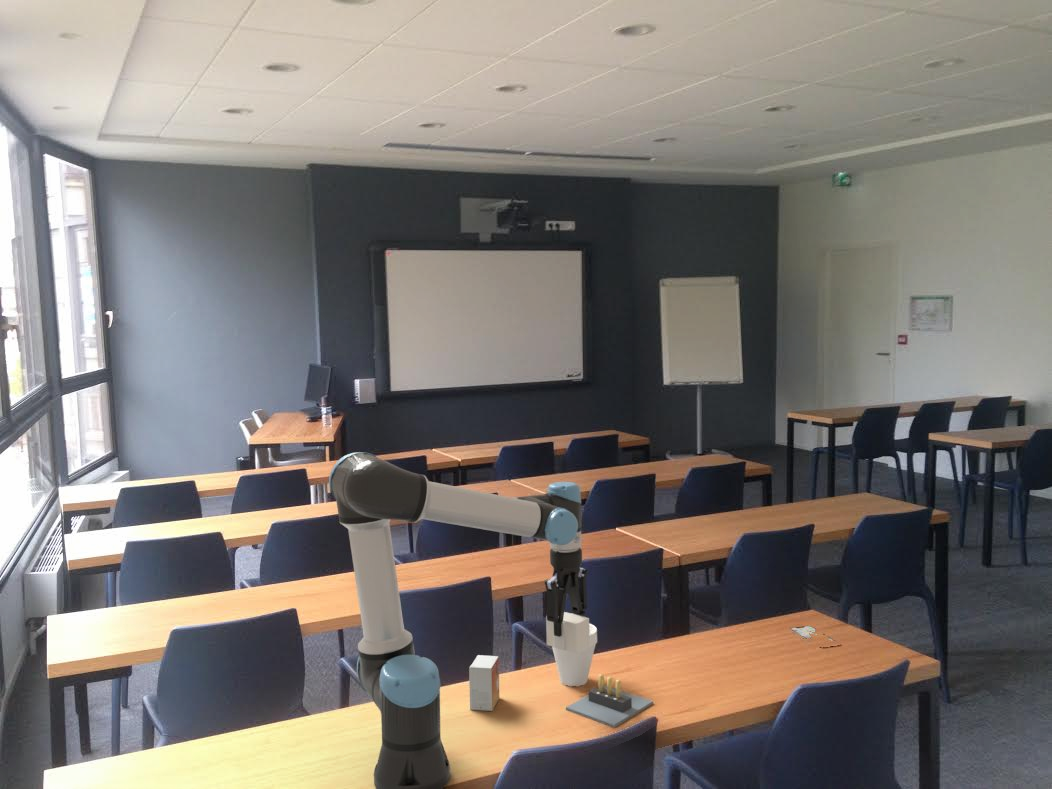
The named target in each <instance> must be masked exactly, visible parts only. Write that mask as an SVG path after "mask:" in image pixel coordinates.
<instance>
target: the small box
mask: <svg viewBox="0 0 1052 789" xmlns="http://www.w3.org/2000/svg"><path fill="white" fill-rule="evenodd" d="M468 670H469V672H468V674H469V675H468V676H469V680H468V682H469V709H470V710H471V711H485V712H486V711H488V712H493V711H494V709H495V706H496V704H497V703H498V701H499V700H500V656H497V655H486V654H485V655H483V654H481V655H480V654H478V655H476V657H475V659H474V660H473V662H472V664H470V666H469V667H468Z"/></svg>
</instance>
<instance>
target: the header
mask: <svg viewBox="0 0 1052 789" xmlns="http://www.w3.org/2000/svg"><path fill="white" fill-rule="evenodd" d="M604 676H605V675H604V674H603V673H601V674H600V673H599V674H598V686H595V687H593V688H592V689H590V690H588V694H587V695H586V696H584V697H582V698H581V699H580V698H579V699H578V700H576V701H575V702H573V703H571V704H569V705H567V706H566V707H565V710H566V711H569V712H571V713H574V714H576V715H580V716H582V717H585V718H588V719H591V720H593V721H595V722H598V723H601V724H604V725H606V726H610V727H612V728H616V727H617V726H619V725H620V724H622V723H624V722H625V721H627V720H629V719H631V718H632V717H634V716H635V715H637V714H639V713H640V712H642V711H644V710H645V709H646V708H649V707H650V706H652V705H653V704H654V700H651V699H649V698H645V697H642V696H639V695H636V694H633V693H629V692H626V691H624V690H622V681H621V679H616V680H615V687H613V677H612V676H607V678H606V685H605V681H604V680H605V679H604V678H605V677H604Z"/></svg>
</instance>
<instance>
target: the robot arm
mask: <svg viewBox="0 0 1052 789" xmlns="http://www.w3.org/2000/svg"><path fill="white" fill-rule="evenodd" d="M328 478H329V479H328V480H329V481H328V485H329V489H330V492H331V494H332V496H333V497H334V499H335V501H336V506H337V507H336V508H337V513H338V520H339V524H340V525H342V526H344V528H346V529H347V530H348V537H349V538H348V539H349V544H350V551H351V557H352V565H353V572H354V578H355V579H354V580H355V585H356V586H355V587H356V593H357V599H358V607H359V614H360V619H361V627H362V632H363V633H362V635H363V637H362V638H361V640H360V641H359V642H358V644H357V650H358V658H357V661H356V674H357V678H358V681H359V684H360V686H361V687H362V689H363V691H364V692H365V693H366V694H367V695H368V696H369V698H370V699H371V700H372V702H373V703H374V704H375V706H376V707H377V708H378V710H379V711H380V716H381V746H380V751H379V755H378V759H377V763H376V764H375V767H374V770H373V784H374V787H375V789H444V788H445V787H446V786H447V785H448V783H450V779H451V766H450V762H449V759H448V756H447V755H448V754H447V753H446V750H445V748H444V744H443V742H442V740H441V739H442V738H441V678H440V674H439V668H438V666H437V665H436V663H435V662H433V661H432V660H431V659H430V658H428V657H424V656H422V657H421V656H420V655H418V654H415V652H416V651H415V646H414V638H413V634H412V633H411V632H410V631H408V630H407V629H405V626H404V619H403V613H402V612H403V611H402V605H401V598H400V597H401V596H400V591H399V590H400V589H399V583H398V577H397V576H398V575H397V570H396V563H395V562H396V560H395V554H394V547H393V540H392V532H391V524H390V521H400V522H406V523H407V522H408V523H414V524H415V523H418V521H420V520H427V521H433V522H439V523H444V524H450V525H457V526H462V527H467V528H474V529H481V530H485V531H491V532H497V533H502V534H503V533H504V534H510V535H514V536H519V537H520V536H521V537H527V538H531V539H536V540H541V541H547V542H548V543H549V547H550V550H549V557H550V558H549V560H550V561H549V562H550V563H549V564H550V565H551V566H552V568H553V572H552V577H551V578H550V579H545V580H544V585H545V589H546V590H545V591H546V592H545V593H546V616H547V620H548V621H551V622H553V623H554V636H555V648H558V649H561V650H566V626H565V622H563V617H564V612H565V608H566V603H567V602H566V601H567V595H568V600H569V604H570V608H571V612H572V613H571V614H575V615H579V616H584V615H585V614H586V610H587V608H588V594H587V592H588V591H587V589H588V588H587V577H588V569H587V568H583V567H580V566H581V565H582V564H583V549H582V548H581V547H582V543H583V542H582V497H581V487H580V485H578V483H576V482H573V481H556V482H552V483H550V484H549V485H548V489H547V493H542V494H534V495H525V496H515V497H512V496H511V497H510V496H505V495H501V494H495V493H489V492H486V491H480V490H474V489H470V488H465V487H460V486H453V485H450V484H444V483H441V482H440V483H439V482H433V481H430V480H429V479H428V478H427V476H426V475H424V474H421V473H420V474H419V473H417V472H416V473H415V472H412V471H409V470H406V469H404V468H401V467H399V466H396V465H395V464H393V463H391V462H389V461H386V460H384V459H382V458H379V457H378V456H376V455H375V454H373V453H369V452H366V451H365V452H360V451H358V452H357V451H356V452H351V453H348V454H346V455H344V456H341V457H340V458H339V459H338V460H337V461H336V463H334V465H333V467H332V469H331V471H330V474H329V477H328Z"/></svg>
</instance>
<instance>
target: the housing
mask: <svg viewBox="0 0 1052 789" xmlns="http://www.w3.org/2000/svg"><path fill="white" fill-rule="evenodd" d="M563 622H565V626H566V651H569V652H573V653H576V654H577V653H579V652H581V651H583V650H585V649H587V648H589V647H590V638H589V624H590V618H589V617H586V616H584V615H581V616H579V615H575V614H571V613H570V612H567V611H566V612H565V611H564V617H563ZM545 626H546V628H545V629H546V630H545V632H546V645H547V646H550V647H555V636H554V623H553V622H551V621H548V620H547V615H546V616H545Z"/></svg>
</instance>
